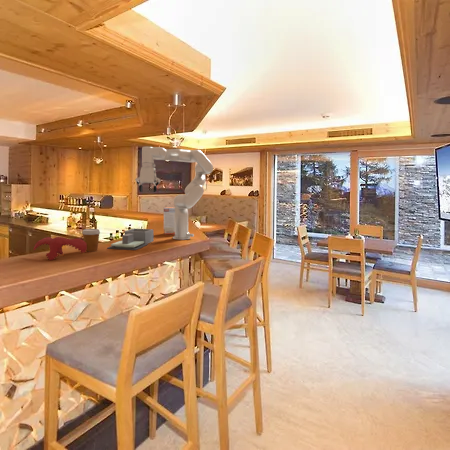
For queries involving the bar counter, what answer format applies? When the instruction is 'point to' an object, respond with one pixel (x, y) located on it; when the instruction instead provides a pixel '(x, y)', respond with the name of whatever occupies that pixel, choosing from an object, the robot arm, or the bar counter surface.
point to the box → (141, 235)
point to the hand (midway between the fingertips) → (147, 191)
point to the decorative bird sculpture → (60, 245)
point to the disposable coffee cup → (91, 239)
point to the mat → (128, 248)
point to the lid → (127, 242)
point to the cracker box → (169, 220)
